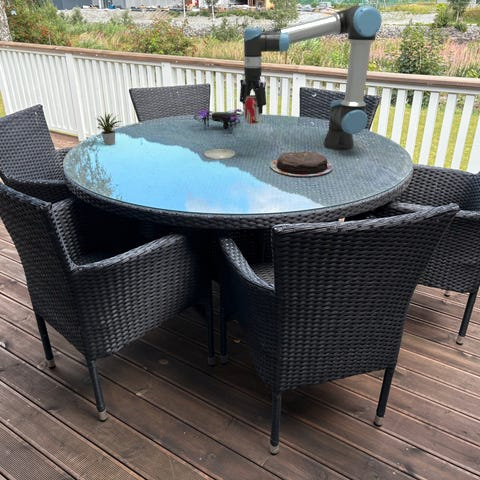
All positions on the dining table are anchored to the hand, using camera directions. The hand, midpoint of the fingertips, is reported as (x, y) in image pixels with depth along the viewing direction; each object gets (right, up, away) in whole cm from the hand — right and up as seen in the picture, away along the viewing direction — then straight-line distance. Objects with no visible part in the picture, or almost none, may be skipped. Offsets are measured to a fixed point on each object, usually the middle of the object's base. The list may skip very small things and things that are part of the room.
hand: (252, 119), depth 211 cm
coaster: (-16, -14, +12) cm, 24 cm away
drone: (-18, +9, +57) cm, 61 cm away
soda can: (0, -2, +1) cm, 2 cm away
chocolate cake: (+22, -23, -5) cm, 32 cm away
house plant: (-74, -6, +28) cm, 80 cm away
